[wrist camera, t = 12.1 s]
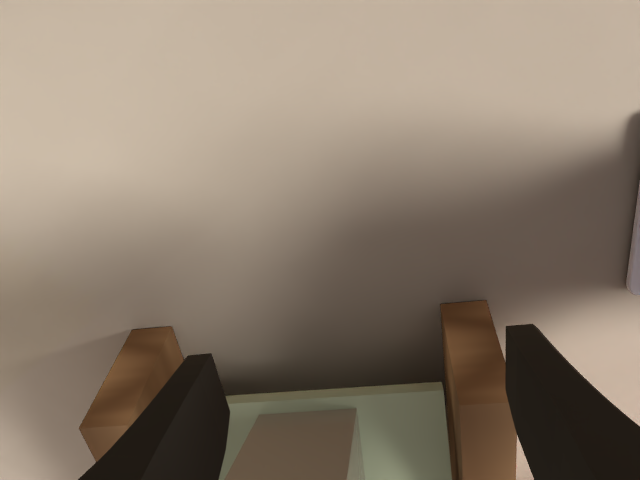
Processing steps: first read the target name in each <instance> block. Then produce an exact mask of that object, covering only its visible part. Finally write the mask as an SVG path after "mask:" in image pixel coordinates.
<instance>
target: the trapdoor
mask: <svg viewBox="0 0 640 480" xmlns="http://www.w3.org/2000/svg"><path fill="white" fill-rule="evenodd" d="M225 397H226V400H227V403H228V406H229V409H230V419H229V429H228V437H227V444H226V451H225V455H224V460H223V464H222V468H221V472H220V476H219V480H224V479H225V477H226V475H227V474H228V472H229V470H230V468H231V466H232V464H233V462H234V460H235V459H236V457H237V455H238V453H239V451H240V449H241V447H242V445H243V443H244V442H245V440H246V438H247V436H248V434H249V432H250V430H251V428H252V427H253V425H254V423H255V421H256V419H257V417H258V415H260V414H275V413H290V412H306V411H321V410H337V409H352V408H357V414H358V422H359V431H360V439H361V448H362V456H363V465H364V473H365V480H452V474H451V464H450V453H449V442H448V432H447V421H446V411H445V400H444V390H443V386H442V382H428V383H413V384H398V385H383V386H367V387H352V388H337V389H322V390H306V391H291V392H276V393H260V394H245V395H230V396H225Z"/></svg>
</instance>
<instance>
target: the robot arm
mask: <svg viewBox="0 0 640 480" xmlns="http://www.w3.org/2000/svg"><path fill="white" fill-rule="evenodd" d="M626 285H627V288H628V289H629V291H630V292H631V293H632V294H634V295H640V182H639V190H638V197H637V205H636V212H635V220H634V227H633V235H632V242H631V250H630V258H629V265H628V273H627V280H626ZM505 390H506V394H507V398H508V403H509V407H510V411H511V415H512V418H513V422H514V426H515V430H516V432H517V435H518V438H519V441H520V443H521V446H522V448H523V451H524V454H525V456H526V459H527V462H528V464H529V467H530V469H531V472H532V475H533V477H534V480H640V426H638V425H637V424H636V423H635V422H633V421H632V420H631V419H630V418H629V417H627V416H626V415H625V414H624V413H623V412H621V411H620V410H619V409H618V408H617V407H616V406H615V405H613V404H612V403H611V402H610V401H609V400H608V399H607V398H605V397H604V396H603V395H602V394H601V393H600V392H599V391H598V390H597V389H596V388H595V387H594V386H592V385H591V384H590V383H589V382H588V381H587V380H586V379H585V378H584V377H583V376H582V375H581V374H580V373H579V372H578V371H577V370H576V369H575V368H574V367H573V366H572V365H571V364H570V363H569V362H568V361H567V360H566V359H565V358H564V357H563V356H562V355H561V354H560V352H559V351H558V350H557V349H556V348H555V347H554V346H553V345H552V344H551V343H550V342H549V341H548V339H547V338H546V337H545V336H544V335H543V334H542V333H541V331H540V330H539V329H538V328H537V327H536V326H534V325H533V324H527V325H516V326H506V372H505ZM229 419H230V409H229V406H228V403H227V400H226V397H225V394H224V391H223V388H222V385H221V381H220V378H219V375H218V372H217V369H216V366H215V363H214V360H213V357H212V354H201V355H190V356H187V358H186V359H185V360H184V361H183V362H182V364H181V365H180V366H179V367H178V369H177V370H176V371H175V372H174V374H173V375H172V376H171V377H170V379H169V380H168V381H167V382H166V384H165V385H164V386H163V387H162V389H161V390H160V391H159V392H158V394H157V395H156V396H155V397H154V399H153V400H152V401H151V402H150V404H149V405H148V406H147V407H146V408H145V410H144V411H143V412H142V413H141V414H140V416H139V417H138V418H137V419H136V420H135V422H134V423H133V424H132V425H131V426H130V427H129V428H128V429H127V430H126V432H125V433H124V434H123V435H122V436H121V437H120V438H119V439H118V440H117V442H116V443H115V444H114V445H113V446H112V447H111V448H110V449H109V450H108V451H107V452H106V453H105V454H104V455H103V456H102V457H101V458H100V459H99V460H98V461H97V462H96V463H95V464H94V465H93V466H92V467H91V468H90V469H89V470H88V471H87V472H86V473H85V474H84V475H83V476H82V477H80V478H79V479H78V480H219V476H220V472H221V468H222V464H223V460H224V455H225V451H226V444H227V437H228V429H229Z"/></svg>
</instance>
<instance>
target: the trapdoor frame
mask: <svg viewBox="0 0 640 480" xmlns="http://www.w3.org/2000/svg"><path fill="white" fill-rule="evenodd" d="M440 307H441V323H442V339H443V355H444V371H445V387H446V403H447V419H448V435H449V451H450V464H451V474H452V480H516V443H517V432H516V430H515V426H514V422H513V418H512V415H511V411H510V407H509V403H508V398H507V394H506V390H505V372H506V363H505V360H504V357H503V353H502V350H501V347H500V344H499V340H498V337H497V334H496V330H495V327H494V324H493V321H492V317H491V314H490V311H489V308H488V304H487V301H486V300H484V301H472V302H460V303H448V304H440ZM183 361H184V359H183V357H182V354H181V351H180V348H179V345H178V343H177V340H176V337H175V334H174V331H173V329H172V327H160V328H148V329H136V330H132V331H131V333H130V335H129V336H128V338H127V340H126V342H125V344H124V346H123V348H122V349H121V351H120V353H119V355H118V357H117V359H116V360H115V362H114V364H113V366H112V368H111V370H110V372H109V373H108V375H107V377H106V379H105V381H104V383H103V385H102V386H101V388H100V390H99V392H98V394H97V396H96V398H95V399H94V401H93V403H92V405H91V407H90V409H89V410H88V412H87V414H86V416H85V418H84V420H83V422H82V423H81V425H80V427H79V429H80V431H81V433H82V435H83V437H84V439H85V441H86V443H87V445H88V447H89V449H90V451H91V453H92V455H93V456H94V458H95V460H96V462H97V461H98V460H99V459H100V458H101V457H102V456H103V455H104V454H105V453H106V452H107V451H108V450H109V449H110V448H111V447H112V446H113V445H114V444H115V443H116V442H117V440H118V439H119V438H120V437H121V436H122V435H123V434H124V433H125V432H126V430H127V429H128V428H129V427H130V426H131V425H132V424H133V423H134V422H135V420H136V419H137V418H138V417H139V416H140V414H141V413H142V412H143V411H144V410H145V408H146V407H147V406H148V405H149V404H150V402H151V401H152V400H153V399H154V397H155V396H156V395H157V394H158V392H159V391H160V390H161V389H162V387H163V386H164V385H165V384H166V382H167V381H168V380H169V379H170V377H171V376H172V375H173V374H174V372H175V371H176V370H177V369H178V367H179V366H180V365H181V364H182V362H183Z"/></svg>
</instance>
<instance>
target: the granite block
mask: <svg viewBox="0 0 640 480" xmlns="http://www.w3.org/2000/svg"><path fill="white" fill-rule="evenodd" d="M224 480H365V473H364V465H363V456H362V448H361V439H360V431H359V422H358V414H357V408H352V409H337V410H321V411H306V412H290V413H275V414H260V415H258V417H257V419H256V421H255V423H254V425H253V427H252V428H251V430H250V432H249V434H248V436H247V438H246V440H245V442H244V443H243V445H242V447H241V449H240V451H239V453H238V455H237V457H236V459H235V460H234V462H233V464H232V466H231V468H230V470H229V472H228V474H227V475H226V477H225V479H224Z"/></svg>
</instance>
